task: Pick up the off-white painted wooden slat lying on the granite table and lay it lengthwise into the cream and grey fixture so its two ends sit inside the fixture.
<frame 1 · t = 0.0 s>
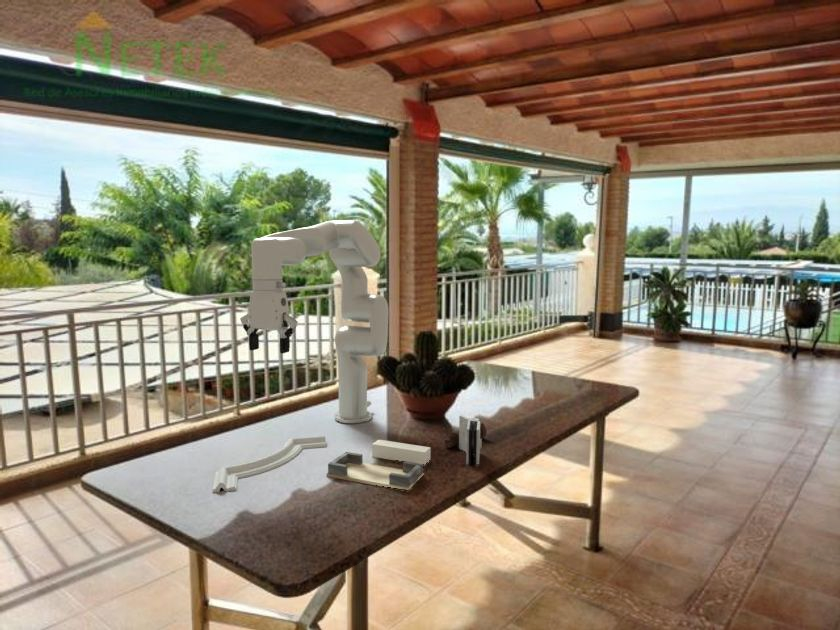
hand: (269, 351, 156), 31 cm above the table, tool pointing down, fingers open, 9 cm apart
hinge: (469, 457, 167), on the table
slat: (401, 459, 166), on the table
molding: (274, 466, 161), on the table
cream and grey fixture: (375, 476, 153), on the table
bolt: (463, 444, 178), on the table
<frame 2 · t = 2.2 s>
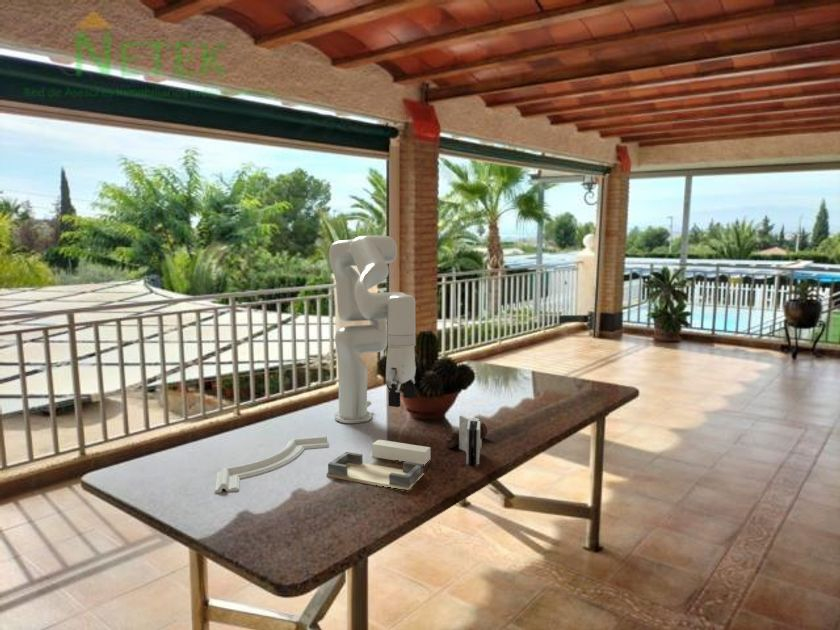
hand: (402, 402, 163), 16 cm above the table, tool pointing down, fingers open, 9 cm apart
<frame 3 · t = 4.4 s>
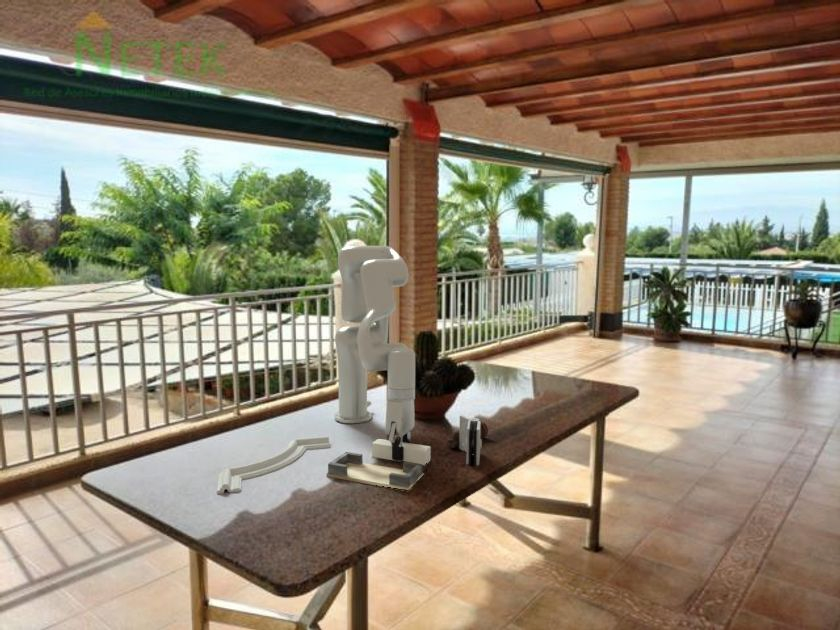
hand: (401, 456, 165), 1 cm above the table, tool pointing down, fingers closed on slat, 4 cm apart
slat: (401, 458, 165), on the table, touching gripper
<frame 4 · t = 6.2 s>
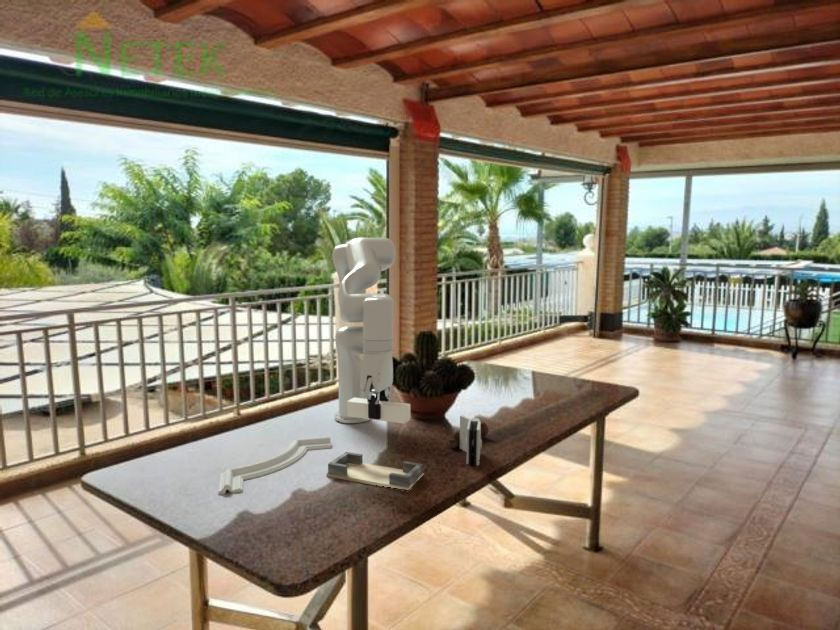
hand: (378, 415, 152), 16 cm above the table, tool pointing down, fingers closed on slat, 4 cm apart
slat: (378, 417, 152), point 15 cm above the table, touching gripper
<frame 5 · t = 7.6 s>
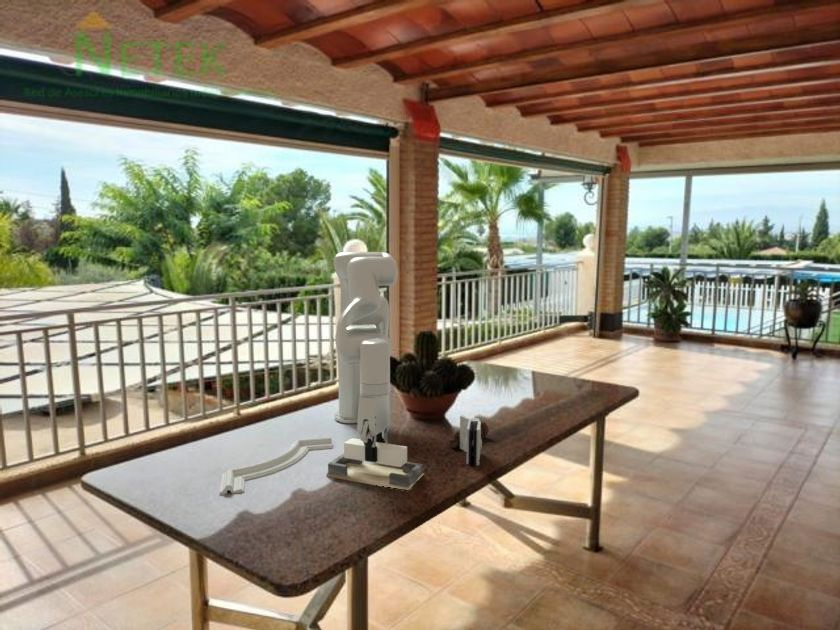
hand: (375, 457, 152), 5 cm above the table, tool pointing down, fingers closed on slat, 4 cm apart
slat: (375, 459, 152), point 4 cm above the table, touching gripper
when the fingers open (2 cm above the table, at t = 8.4 s): slat stays where it is, resting on cream and grey fixture.
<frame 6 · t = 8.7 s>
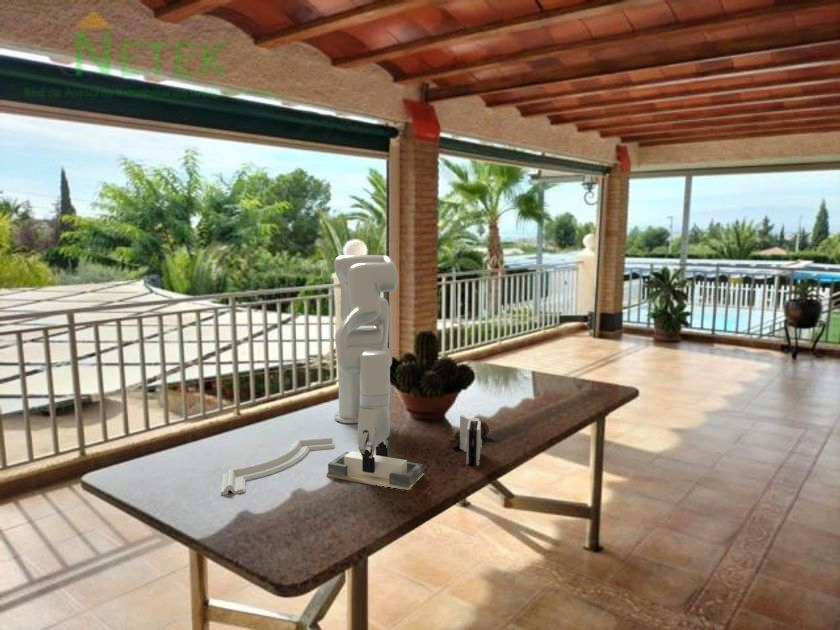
hand: (375, 466, 153), 3 cm above the table, tool pointing down, fingers open, 6 cm apart
slat: (375, 473, 153), point 1 cm above the table, touching cream and grey fixture
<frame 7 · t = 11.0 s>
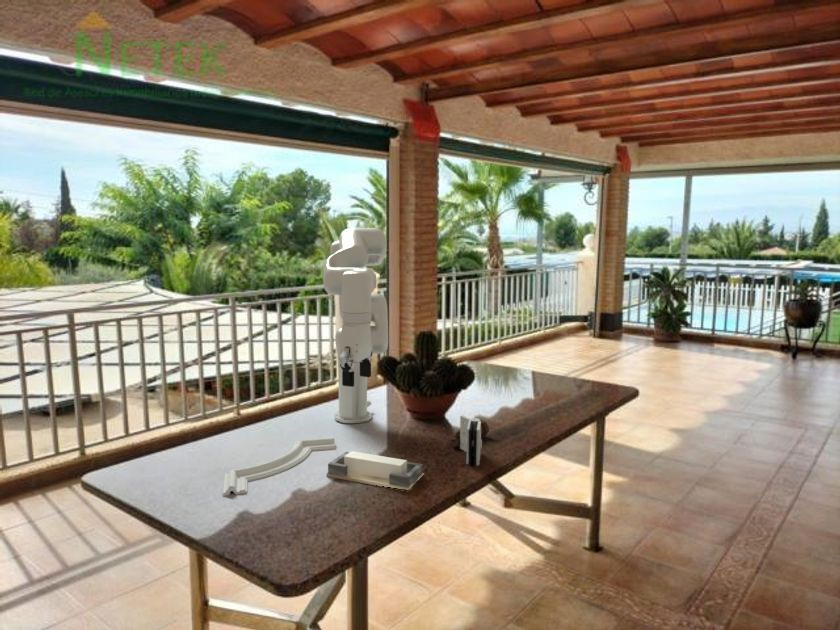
hand: (357, 381, 158), 23 cm above the table, tool pointing down, fingers open, 9 cm apart
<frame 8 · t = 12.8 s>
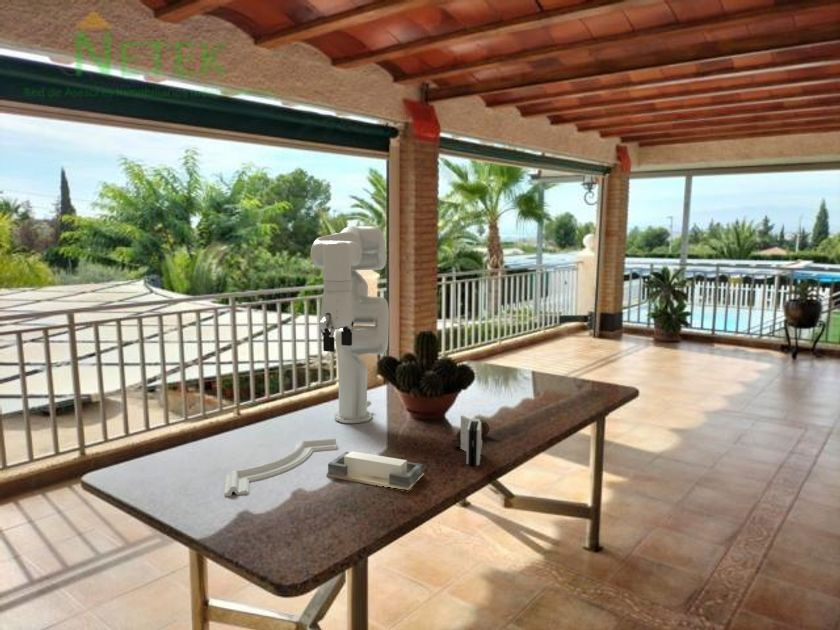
hand: (338, 348, 165), 30 cm above the table, tool pointing down, fingers open, 9 cm apart
at the end: slat inside the target area on the cream and grey fixture (0.1 cm from its centre), point 0.8 cm above the cream and grey fixture's base; the gripper is holding nothing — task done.
